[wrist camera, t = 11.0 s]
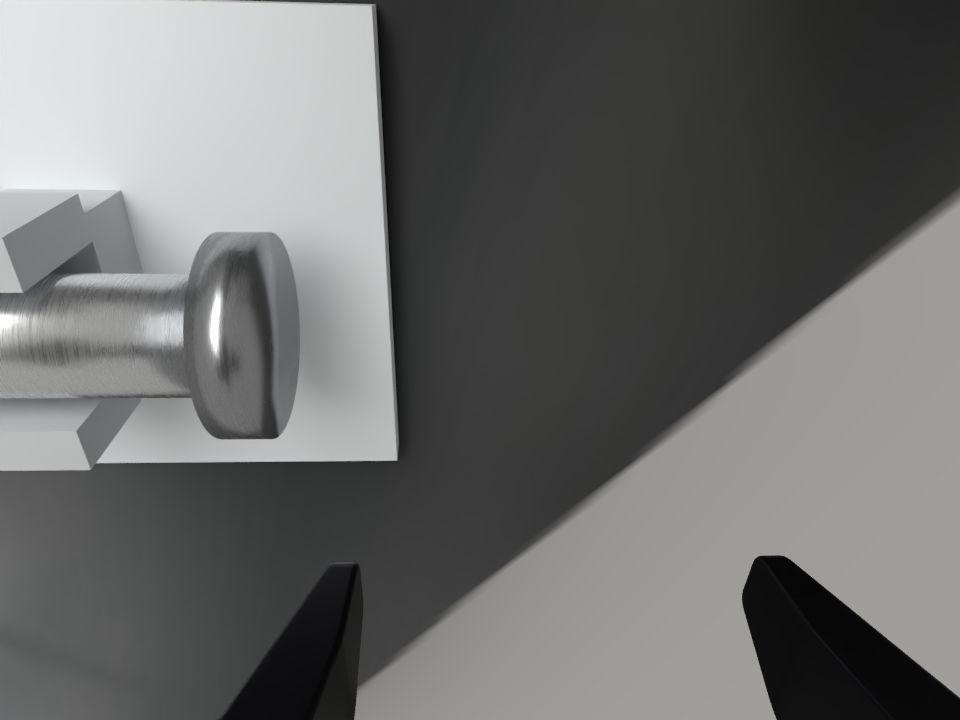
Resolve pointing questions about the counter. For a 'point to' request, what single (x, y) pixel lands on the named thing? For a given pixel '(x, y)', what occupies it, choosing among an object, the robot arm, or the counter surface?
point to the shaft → (166, 336)
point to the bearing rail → (201, 202)
